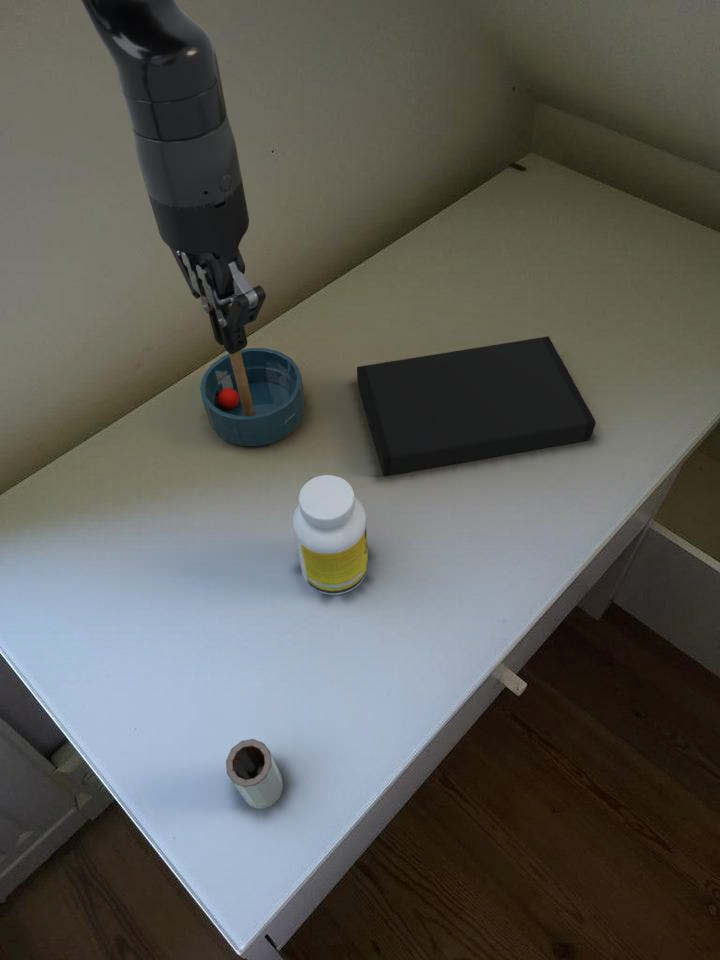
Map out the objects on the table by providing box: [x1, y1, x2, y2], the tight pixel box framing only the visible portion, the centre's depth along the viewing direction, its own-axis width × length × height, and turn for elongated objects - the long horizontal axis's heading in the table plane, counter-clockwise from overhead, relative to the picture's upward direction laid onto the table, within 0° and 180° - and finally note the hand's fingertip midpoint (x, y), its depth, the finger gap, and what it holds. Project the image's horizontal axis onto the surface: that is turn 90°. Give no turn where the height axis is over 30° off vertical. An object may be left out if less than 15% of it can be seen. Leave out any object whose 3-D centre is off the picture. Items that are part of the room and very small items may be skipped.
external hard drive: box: [356, 336, 597, 477], centre depth 77 cm, size 14×23×3 cm, turn 101°
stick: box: [225, 304, 255, 416], centre depth 70 cm, size 1×1×16 cm
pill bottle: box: [292, 474, 369, 596], centre depth 62 cm, size 6×6×12 cm
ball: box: [218, 388, 239, 409], centre depth 78 cm, size 2×2×2 cm
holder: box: [225, 738, 284, 810], centre depth 52 cm, size 3×3×7 cm
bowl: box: [199, 347, 306, 447], centre depth 77 cm, size 11×11×5 cm
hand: (232, 344), depth 68 cm, fingers closed on stick, 1 cm apart
